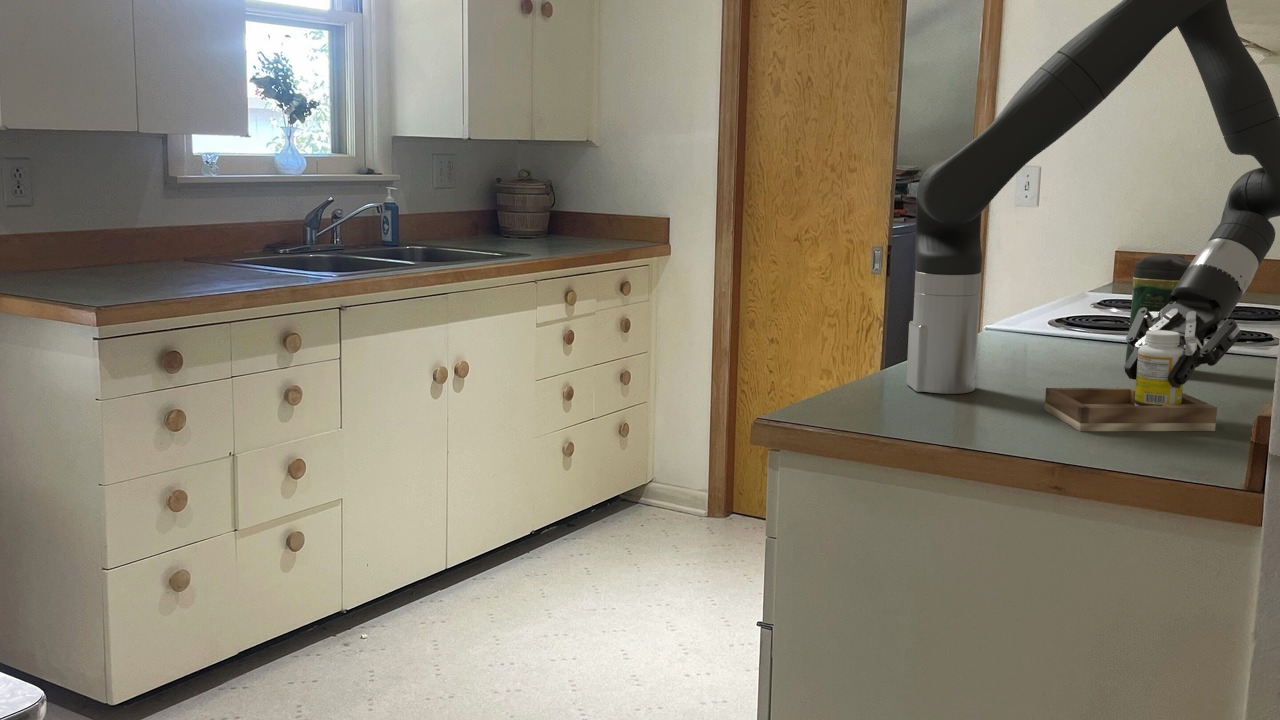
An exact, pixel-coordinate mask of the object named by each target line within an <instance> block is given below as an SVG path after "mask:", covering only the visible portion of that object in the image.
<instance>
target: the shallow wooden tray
mask: <svg viewBox="0 0 1280 720" xmlns="http://www.w3.org/2000/svg"><path fill="white" fill-rule="evenodd" d="M1135 390H1136V387H1046V388H1045V399H1044V410H1045V411H1046V412H1048V413H1049V412H1050V413H1049V414H1051V415H1052V414H1053V415H1052V416H1054V417H1056V418H1057V417H1058V418H1057V419H1059V420H1060V421H1062V422H1064V423H1065V424H1067V423H1068V424H1067V425H1069V426H1070V425H1071V426H1070V427H1072V428H1074V429H1075V430H1077V431H1078V432H1215V431H1216V425H1217V423H1216V422H1217V414H1218V413H1217V412H1218V407H1217V406H1214V405H1213V404H1211V403H1208V402H1205V401H1204V400H1200V399H1199V398H1196V397H1193V396H1191V395H1189V394H1187V393H1185V392H1182V403H1181V404H1162V406H1135Z"/></svg>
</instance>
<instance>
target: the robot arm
mask: <svg viewBox="0 0 1280 720" xmlns="http://www.w3.org/2000/svg"><path fill="white" fill-rule="evenodd" d="M1175 28H1177V29H1178V31H1179V33H1180V34H1181V37H1182V39H1183V40H1184V42H1185V44H1186V47H1187V48H1188V51H1189V52H1190V55H1191V57H1192V59H1193V61H1194V62H1195V66H1196V67H1197V70H1198V72H1199V75H1200V77H1201V80H1202V82H1203V85H1204V89H1205V90H1206V93H1207V95H1208V98H1209V101H1210V103H1211V107H1212V110H1213V112H1214V115H1215V117H1216V120H1217V123H1218V124H1217V125H1218V126H1219V129H1220V131H1221V135H1222V136H1223V140H1224V143H1225V145H1226V147H1227V149H1228V151H1229V152H1231V154H1233V155H1239V156H1250V157H1251V156H1252V157H1253V158H1254V159H1255V160H1256V161H1257V163H1258V164H1259V165H1260V166H1261V167H1259V168H1254V169H1251V170H1249V171H1247V172H1244V174H1242V175H1241V176H1240V177H1239V178H1238V179H1237V180H1236V181H1235V182H1234V183H1233V185H1232V186H1231V188H1230V190H1229V191H1228V195H1227V199H1226V202H1225V205H1224V208H1223V212H1222V215H1221V220H1220V223H1219V225H1218V226H1217V227H1216V228H1215V230H1214V231H1213V233H1212V234H1211V236H1210V238H1209V239H1208V241H1207V242H1206V243H1205V245H1204V246H1203V247H1202V248H1201V249H1200V250H1199V251H1198V253H1197V254H1196V255H1195V257H1194V258H1193V259H1192V261H1190V262H1191V264H1190V265H1189V267H1188V268H1187V270H1186V271H1185V273H1184V274H1183V276H1182V277H1181V279H1180V280H1179V282H1178V283H1177V285H1176V286H1175V288H1174V289H1173V291H1172V293H1171V297H1170V301H1169V303H1168V304H1167V305H1166V306H1165V307H1164V308H1162V309H1161V310H1160V311H1159V312H1148V310H1147V308H1145V307H1143V308H1141V309H1139V310H1138V312H1137V315H1136V317H1135V319H1134V321H1133V324H1132V326H1131V328H1130V330H1129V329H1128V333H1127V336H1126V338H1125V341H1126V343H1128V344H1129V346H1130V347H1131V349H1132V350H1133V353H1132V354H1131V356H1130V357H1129V359H1128V360H1127V362H1126V363H1124V366H1123V369H1124V373H1125V375H1126V376H1127V377H1128V379H1129V380H1136V376H1137V361H1138V350H1139V348H1140V347H1141V346H1143V345H1147V344H1146V343H1145V341H1146V340H1145V339H1146V332H1147V331H1151V330H1165V331H1173V332H1178V333H1179V334H1180V342H1179V343H1181V344H1184V350H1185V356H1181V357H1180V358H1179V360H1178V361H1177V363H1176V364H1175V366H1174V367H1173V369H1172V371H1171V372H1170V374H1169V375H1168V381H1169V383H1170V384H1171V386H1172V387H1175V388H1179V387H1180V386H1181V385H1183V386H1184V385H1185V384H1186V383H1187V382H1188V380H1189V379H1190V377H1191V376H1192V374H1193V372H1194V371H1195V369H1196V368H1198V367H1200V366H1201V365H1206V364H1207V365H1208V366H1210V367H1211V366H1212V367H1213V366H1216V364H1217V363H1219V361H1220V360H1221V359H1222V358H1223V357H1224V356H1225V355H1226V354H1227V352H1228V351H1229V350H1230V349H1231V348H1232V347H1233V346H1234V344H1235V343H1237V341H1238V340H1239V339H1240V338H1241V336H1242V334H1243V333H1242V331H1241V329H1240V327H1239V325H1238V324H1237V322H1236V321H1235V319H1233V318H1230V319H1228V318H1229V317H1230V316H1231V314H1232V312H1233V311H1234V310H1235V308H1236V306H1237V305H1238V303H1239V302H1240V300H1241V299H1242V297H1243V296H1244V294H1245V292H1246V291H1247V289H1248V288H1249V286H1250V285H1251V283H1252V281H1253V279H1254V277H1255V274H1256V272H1257V270H1258V268H1259V267H1260V266H1261V263H1262V262H1263V260H1264V258H1266V256H1267V254H1268V253H1269V251H1270V250H1271V248H1272V247H1273V244H1274V242H1275V238H1276V231H1275V227H1274V226H1273V225H1274V224H1272V222H1271V221H1269V220H1270V219H1272V218H1276V217H1280V114H1279V110H1278V107H1277V106H1276V102H1275V100H1274V98H1273V95H1272V92H1271V89H1270V88H1269V85H1268V82H1267V80H1266V78H1265V77H1264V75H1263V73H1262V71H1261V69H1260V68H1259V66H1258V65H1257V63H1256V62H1255V59H1253V57H1252V55H1251V54H1250V53H1249V51H1248V50H1247V48H1246V46H1245V45H1244V43H1243V42H1242V40H1241V38H1240V37H1239V34H1238V32H1237V30H1236V28H1235V25H1234V22H1233V20H1232V17H1231V15H1230V11H1229V7H1228V2H1227V0H1122V1H1120V2H1119V3H1117V4H1116V5H1115V6H1114V7H1113V8H1110V10H1108V11H1107V12H1105V13H1104V14H1103V15H1101V16H1100V17H1099V18H1097V19H1096V20H1094V21H1093V22H1092V23H1090V24H1089V25H1088V26H1087V27H1085V28H1083V30H1081V31H1080V32H1078V33H1077V34H1076V35H1075V36H1073V37H1072V38H1071V39H1070V40H1069V41H1067V42H1066V43H1065V44H1064V45H1063V46H1061V47H1060V48H1058V50H1057V51H1056V52H1055V53H1053V54H1052V56H1051V57H1049V59H1047V60H1046V61H1045V62H1044V63H1043V64H1042V65H1041V66H1039V68H1037V70H1036V71H1035V72H1034V73H1033V74H1031V76H1029V78H1028V79H1027V80H1026V81H1025V82H1024V83H1023V84H1022V85H1021V87H1019V88H1018V90H1017V91H1016V93H1014V94H1013V97H1011V99H1010V100H1009V101H1008V103H1007V104H1006V105H1005V107H1004V108H1003V109H1002V111H1001V112H1000V113H999V114H998V116H997V117H996V118H995V119H994V120H993V122H991V123H990V125H988V126H987V128H986V129H984V130H983V131H982V132H981V133H979V134H978V135H977V136H976V137H974V139H972V140H971V141H970V142H969V143H968V144H967V143H966V145H965V146H963V147H962V148H961V149H960V150H958V151H957V152H956V153H954V154H953V155H952V156H950V157H948V158H947V159H944V160H940V161H938V162H935V163H934V164H932V165H931V166H930V167H928V168H927V169H926V170H925V171H924V173H922V176H921V177H920V180H919V181H918V185H917V193H916V208H915V211H916V212H915V214H916V215H915V240H914V248H915V249H914V250H915V251H914V252H915V275H914V277H915V278H914V292H913V293H914V294H913V296H914V297H913V315H912V316H913V319H912V320H910V321H909V323H908V341H907V342H908V344H907V361H906V362H907V364H906V365H907V366H906V382H905V383H906V384H907V385H908V386H909V387H910V388H911V389H912V390H914V392H917V393H918V392H919V393H922V392H923V393H924V392H926V393H932V394H933V393H934V394H946V395H947V394H948V395H949V394H950V395H951V394H953V395H955V394H966V393H972V392H974V391H975V389H976V388H975V387H976V378H977V373H976V372H977V355H978V339H979V338H978V337H979V319H980V305H981V303H980V301H981V286H982V284H981V283H982V268H983V267H982V266H983V265H982V264H983V255H982V241H981V231H982V230H981V227H982V212H983V211H984V209H986V207H987V206H988V205H989V204H990V203H991V202H992V201H993V199H995V197H996V196H997V195H998V194H999V193H1000V191H1002V189H1003V188H1004V187H1005V186H1006V185H1007V184H1008V183H1009V182H1010V181H1011V180H1012V179H1013V178H1014V177H1015V175H1016V174H1017V173H1019V171H1021V170H1022V169H1023V167H1025V166H1026V165H1027V164H1028V163H1029V162H1030V161H1031V160H1033V159H1034V158H1035V157H1036V156H1038V155H1039V154H1041V153H1042V152H1043V151H1045V150H1046V149H1048V148H1049V147H1050V146H1051V145H1053V143H1055V142H1056V141H1058V140H1059V139H1060V138H1062V136H1064V135H1065V134H1066V133H1068V132H1069V131H1070V130H1071V129H1072V128H1073V127H1075V126H1076V125H1077V124H1078V123H1081V121H1083V119H1084V118H1086V117H1087V116H1088V115H1089V114H1090V113H1091V112H1092V111H1094V110H1095V108H1096V107H1098V106H1100V104H1101V103H1103V101H1104V100H1106V99H1107V98H1108V96H1109V95H1111V94H1112V93H1113V92H1114V91H1115V89H1117V88H1118V87H1119V86H1120V85H1121V84H1122V82H1124V80H1126V79H1127V78H1128V77H1129V76H1130V74H1131V73H1132V72H1133V71H1134V70H1135V69H1136V68H1137V67H1138V66H1139V65H1140V64H1141V62H1142V61H1144V60H1145V58H1146V57H1147V56H1148V55H1149V54H1150V52H1152V51H1153V49H1154V48H1155V47H1156V46H1157V45H1158V44H1159V43H1160V42H1161V41H1162V40H1163V39H1164V38H1166V36H1168V34H1169V33H1171V32H1172V31H1173V30H1174V29H1175ZM1209 337H1211V338H1210V339H1208V341H1206V340H1207V338H1209Z"/></svg>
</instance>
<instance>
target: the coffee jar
mask: <svg viewBox="0 0 1280 720" xmlns="http://www.w3.org/2000/svg"><path fill="white" fill-rule="evenodd" d="M1191 262H1192V261H1190V260H1188V259H1187V258H1185V256H1183V255H1178V254H1170V253H1162V254H1156V255H1151V256H1146V257H1143V258H1142V259H1140V260H1137V261H1136V262H1135V263H1134V269H1133V274H1132V276H1133V277H1132V292H1131V293H1132V296H1131V306H1130V307H1131V308H1130V314H1129V316H1130V317H1129V325H1128V326H1129V327H1128V331H1129V330H1130V328H1131V326H1132V324H1133V321H1134V319H1135V317H1136V315H1137V312H1138V310H1139V309H1141V308H1143V307H1145V308H1147V310H1148V312H1159V311H1160V310H1161V309H1162V308H1164V307H1165V306H1166V305H1167V304H1168V303H1169V301H1170V297H1171V293H1172V291H1173V289H1174V288H1175V286H1176V285H1177V283H1178V282H1179V280H1180V279H1181V277H1182V276H1183V274H1184V273H1185V271H1186V270H1187V268H1188V267H1189V265H1190V264H1191ZM1126 343H1127V344H1126V345H1127V346H1126V352H1125V353H1126V354H1125V361H1124V362H1125V363H1126V362H1127V360H1128V359H1129V357H1130V356H1131V354H1132V353H1133V350H1132V349H1131V347H1130V346H1129V344H1128V342H1126ZM1178 347H1181V348H1183V349H1184V350H1185V345H1184V344H1181V343H1179V345H1178ZM1125 363H1124V364H1125Z"/></svg>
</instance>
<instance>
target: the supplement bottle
mask: <svg viewBox="0 0 1280 720" xmlns="http://www.w3.org/2000/svg"><path fill="white" fill-rule="evenodd" d="M1145 340H1146V341H1145V343H1146V344H1147V345H1143V346H1141V347H1140V348H1139V350H1138V361H1137V376H1136V381H1135V388H1136V390H1135V406H1162V404H1181V403H1182V393H1183V388H1184V384H1183V385H1181V386H1180V387H1179V388H1175V387H1172V386H1171V384H1170V383H1169V381H1168V375H1169V374H1170V372H1171V371H1172V369H1173V367H1174V366H1175V364H1176V363H1177V361H1178V360H1179V358H1180V357H1181V356H1185V348H1184V349H1183V348H1181V347H1178V345H1179V342H1180V334H1179V333H1178V332H1173V331H1165V330H1151V331H1147V332H1146V339H1145Z"/></svg>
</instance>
